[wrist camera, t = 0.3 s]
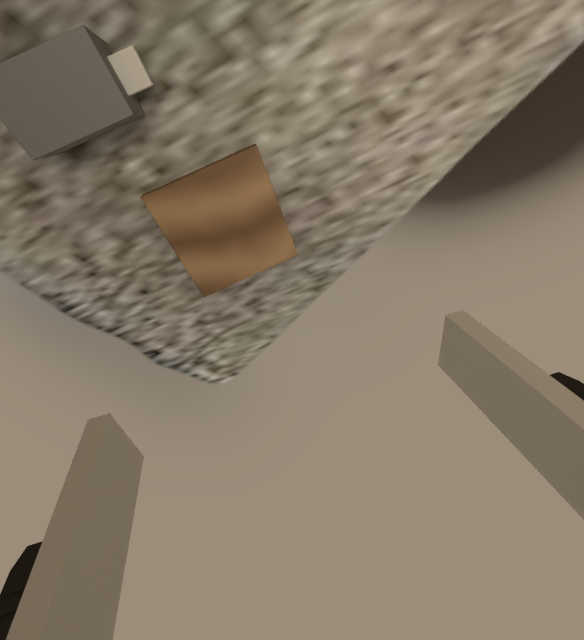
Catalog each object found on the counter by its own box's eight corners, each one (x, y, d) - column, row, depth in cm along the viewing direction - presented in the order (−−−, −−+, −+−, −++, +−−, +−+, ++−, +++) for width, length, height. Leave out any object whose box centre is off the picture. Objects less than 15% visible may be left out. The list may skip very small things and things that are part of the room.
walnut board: (142, 194, 30) (140, 197, 30) (254, 144, 30) (256, 145, 29) (204, 292, 37) (204, 297, 36) (295, 251, 37) (297, 254, 36)
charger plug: (14, 85, 25) (-33, 77, 20) (129, 32, 24) (111, 11, 20) (62, 152, 27) (32, 160, 23) (166, 105, 27) (158, 102, 22)
